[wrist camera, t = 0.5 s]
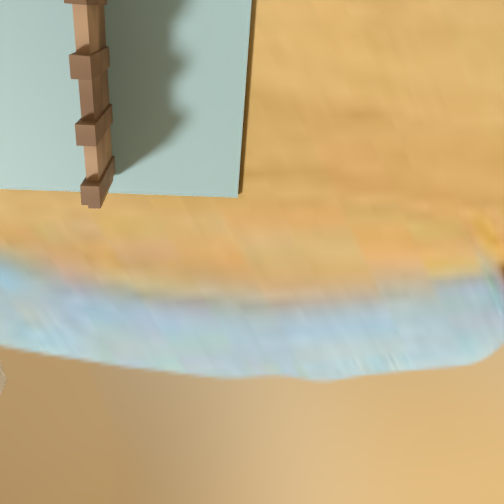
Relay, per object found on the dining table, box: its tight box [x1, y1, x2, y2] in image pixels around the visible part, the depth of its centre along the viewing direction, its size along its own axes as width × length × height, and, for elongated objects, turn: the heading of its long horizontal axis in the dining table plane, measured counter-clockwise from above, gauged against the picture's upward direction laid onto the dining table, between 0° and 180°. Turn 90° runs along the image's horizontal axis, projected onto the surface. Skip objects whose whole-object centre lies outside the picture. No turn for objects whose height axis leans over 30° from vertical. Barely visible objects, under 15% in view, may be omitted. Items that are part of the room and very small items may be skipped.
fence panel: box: [64, 0, 116, 208], centre depth 24 cm, size 11×1×5 cm, turn 176°
